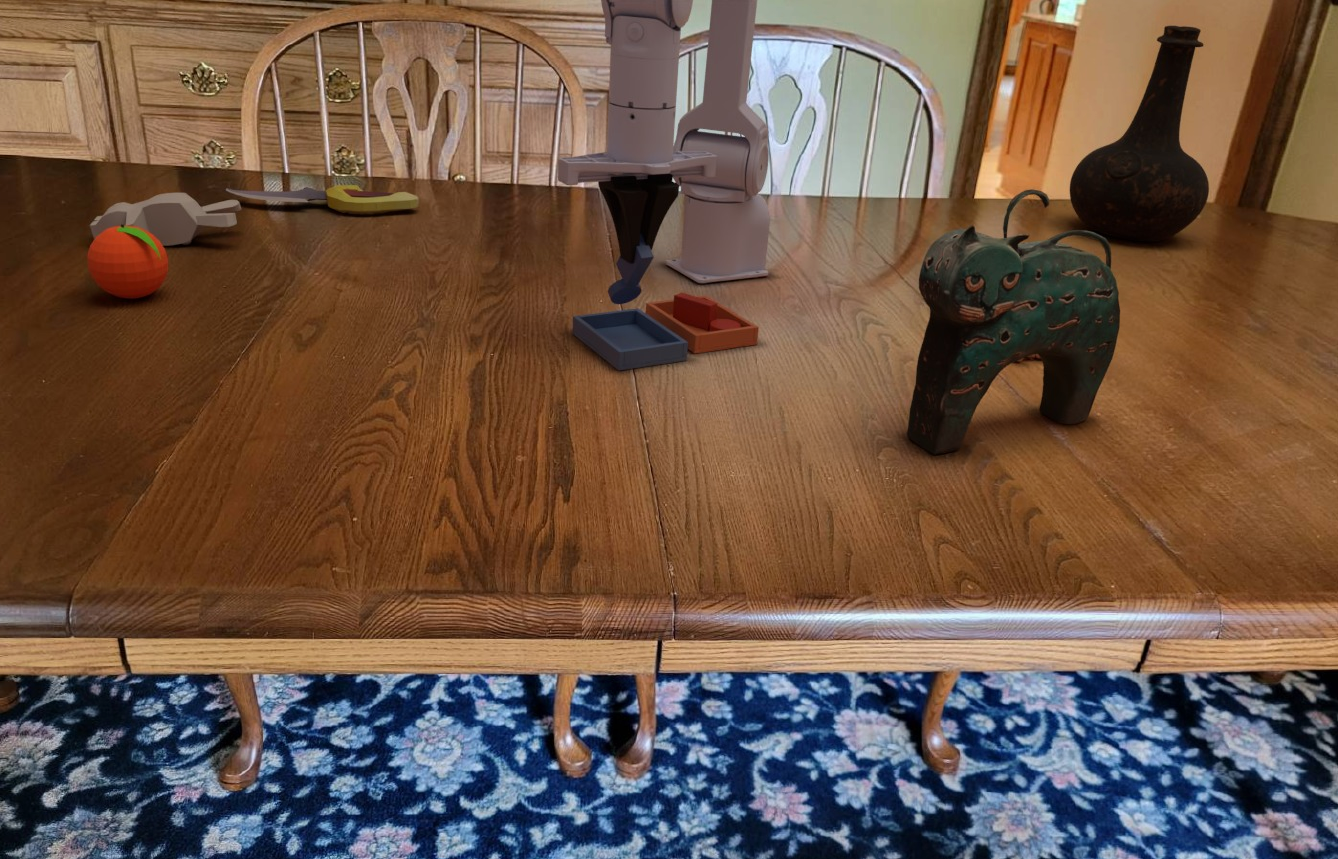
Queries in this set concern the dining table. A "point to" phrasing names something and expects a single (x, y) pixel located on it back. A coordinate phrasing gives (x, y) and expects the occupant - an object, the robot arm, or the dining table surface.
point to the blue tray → (629, 339)
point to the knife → (341, 198)
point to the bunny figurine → (168, 217)
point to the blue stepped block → (631, 275)
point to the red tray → (702, 338)
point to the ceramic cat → (1010, 326)
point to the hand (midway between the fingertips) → (634, 259)
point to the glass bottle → (1147, 159)
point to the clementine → (127, 262)
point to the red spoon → (700, 313)
